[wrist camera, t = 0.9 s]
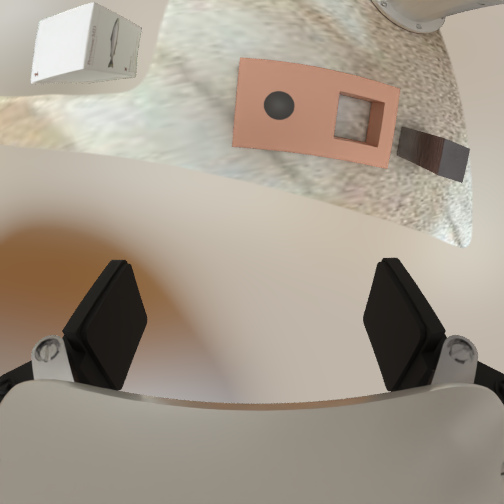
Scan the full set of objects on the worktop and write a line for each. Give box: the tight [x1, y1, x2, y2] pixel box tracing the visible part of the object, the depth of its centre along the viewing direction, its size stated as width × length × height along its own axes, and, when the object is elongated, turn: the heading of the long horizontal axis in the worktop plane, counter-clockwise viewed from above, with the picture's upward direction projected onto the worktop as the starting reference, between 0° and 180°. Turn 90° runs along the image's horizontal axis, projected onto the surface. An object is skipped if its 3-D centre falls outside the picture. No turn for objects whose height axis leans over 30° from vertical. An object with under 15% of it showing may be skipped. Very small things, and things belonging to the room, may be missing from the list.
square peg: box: [397, 127, 470, 183], centre depth 27 cm, size 4×4×10 cm
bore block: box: [232, 58, 400, 169], centre depth 28 cm, size 18×10×4 cm, turn 85°
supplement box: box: [31, 2, 142, 84], centre depth 20 cm, size 7×7×13 cm
